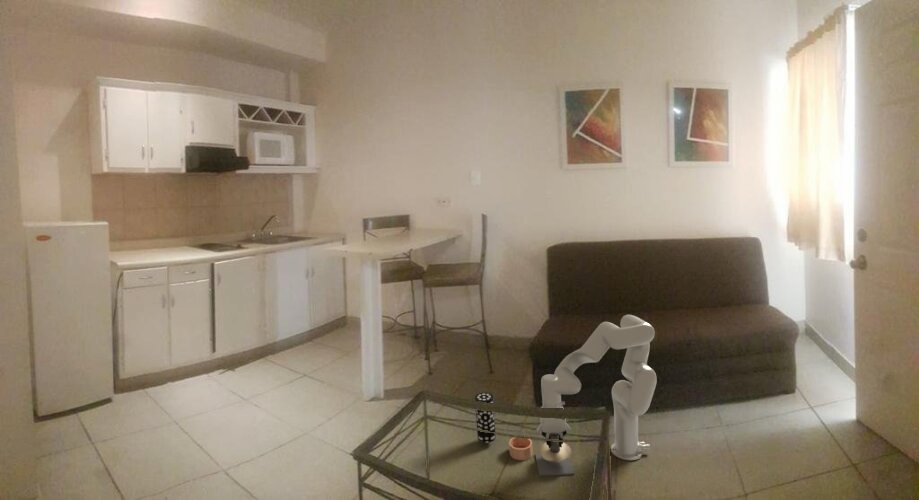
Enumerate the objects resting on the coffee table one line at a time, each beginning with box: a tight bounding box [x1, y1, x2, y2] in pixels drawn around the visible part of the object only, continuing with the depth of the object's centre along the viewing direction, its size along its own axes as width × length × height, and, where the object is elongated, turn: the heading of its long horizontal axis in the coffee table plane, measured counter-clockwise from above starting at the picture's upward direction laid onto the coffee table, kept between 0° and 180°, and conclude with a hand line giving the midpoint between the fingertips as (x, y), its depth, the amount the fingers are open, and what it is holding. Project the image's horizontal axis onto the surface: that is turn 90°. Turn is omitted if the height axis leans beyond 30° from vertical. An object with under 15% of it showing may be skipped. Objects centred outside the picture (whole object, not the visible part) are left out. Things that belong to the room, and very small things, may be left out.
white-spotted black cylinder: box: [474, 392, 497, 444], centre depth 203 cm, size 8×8×20 cm
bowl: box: [508, 436, 534, 461], centre depth 196 cm, size 10×10×5 cm
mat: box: [534, 452, 575, 477], centre depth 187 cm, size 14×14×1 cm
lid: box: [538, 432, 572, 462], centre depth 185 cm, size 13×13×8 cm
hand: (554, 445), depth 186 cm, fingers closed on lid, 4 cm apart
